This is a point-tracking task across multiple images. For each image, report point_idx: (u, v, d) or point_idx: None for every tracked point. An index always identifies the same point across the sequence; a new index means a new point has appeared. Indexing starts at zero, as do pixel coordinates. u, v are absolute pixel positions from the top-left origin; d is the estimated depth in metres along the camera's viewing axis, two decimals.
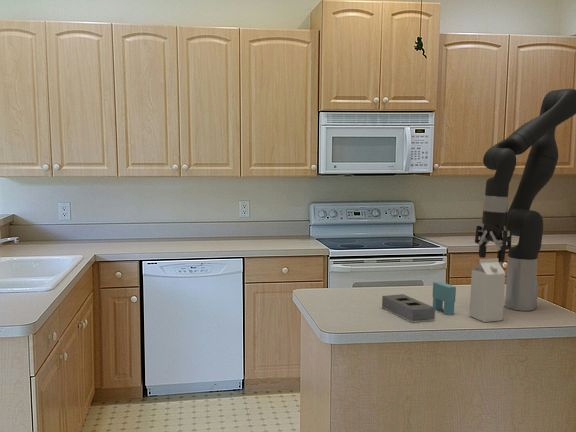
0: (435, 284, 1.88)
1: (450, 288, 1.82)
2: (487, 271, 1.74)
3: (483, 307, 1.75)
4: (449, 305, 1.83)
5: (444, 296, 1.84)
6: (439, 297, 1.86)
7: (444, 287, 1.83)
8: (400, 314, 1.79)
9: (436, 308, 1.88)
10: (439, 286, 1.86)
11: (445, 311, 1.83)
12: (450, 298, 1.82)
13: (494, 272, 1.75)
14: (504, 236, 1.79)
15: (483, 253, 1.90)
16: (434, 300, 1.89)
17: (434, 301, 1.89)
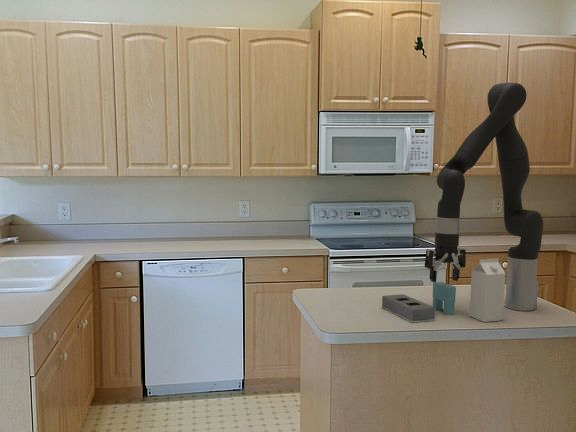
0: (435, 284, 1.88)
1: (450, 288, 1.82)
2: (487, 271, 1.74)
3: (483, 307, 1.75)
4: (449, 305, 1.83)
5: (444, 296, 1.84)
6: (439, 297, 1.86)
7: (444, 287, 1.83)
8: (400, 314, 1.79)
9: (436, 308, 1.88)
10: (439, 286, 1.86)
11: (445, 311, 1.83)
12: (450, 298, 1.82)
13: (494, 272, 1.75)
14: (464, 255, 1.86)
15: None
16: (434, 300, 1.89)
17: (434, 301, 1.89)
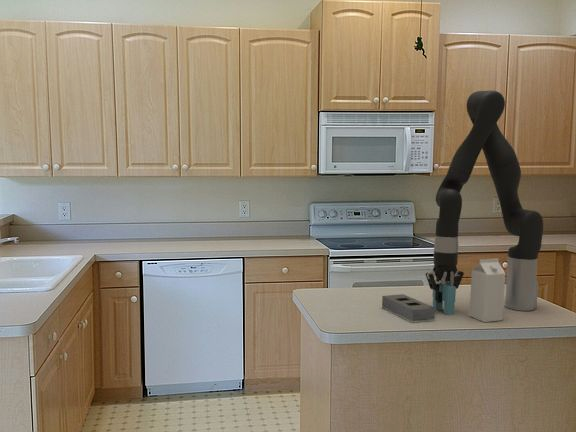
0: None
1: (450, 288, 1.82)
2: (487, 271, 1.74)
3: (483, 307, 1.75)
4: (449, 305, 1.83)
5: (444, 296, 1.84)
6: None
7: (444, 287, 1.83)
8: (400, 314, 1.79)
9: (436, 308, 1.88)
10: None
11: (445, 311, 1.83)
12: (450, 298, 1.82)
13: (494, 272, 1.75)
14: (461, 277, 1.86)
15: None
16: (434, 300, 1.89)
17: (434, 301, 1.89)
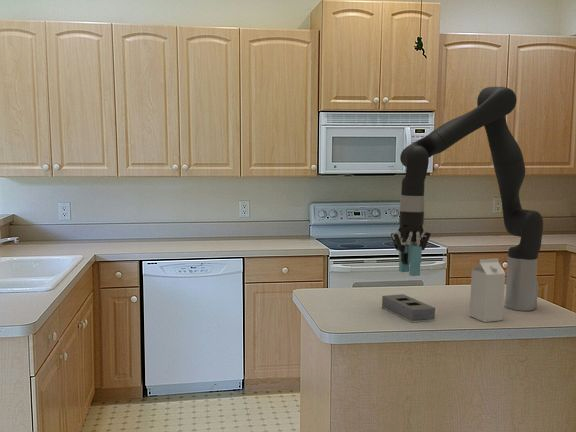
0: None
1: (415, 248, 1.77)
2: (487, 271, 1.74)
3: (483, 307, 1.75)
4: (415, 266, 1.78)
5: (409, 257, 1.78)
6: None
7: (410, 247, 1.78)
8: (400, 314, 1.79)
9: (402, 270, 1.83)
10: None
11: (411, 272, 1.78)
12: (415, 259, 1.77)
13: (494, 272, 1.75)
14: (427, 238, 1.81)
15: None
16: (400, 262, 1.83)
17: (400, 263, 1.83)
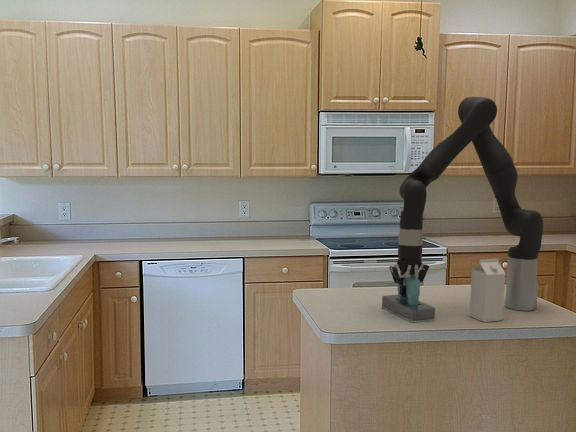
0: None
1: (413, 282, 1.78)
2: (487, 271, 1.74)
3: (483, 307, 1.75)
4: (413, 299, 1.79)
5: (408, 290, 1.79)
6: None
7: (408, 281, 1.79)
8: (400, 314, 1.79)
9: None
10: None
11: (409, 305, 1.79)
12: (414, 292, 1.78)
13: (494, 272, 1.75)
14: (426, 271, 1.82)
15: None
16: (399, 294, 1.85)
17: (399, 295, 1.85)
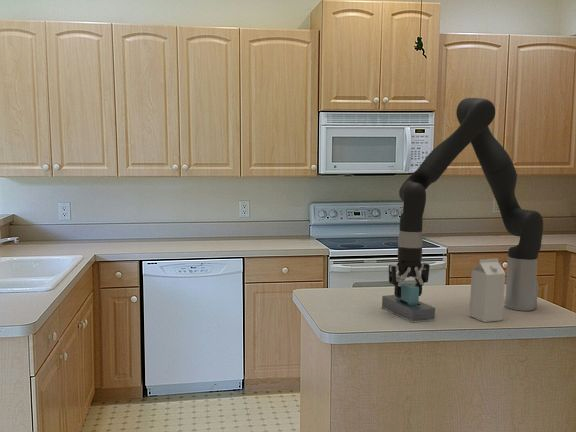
0: None
1: (412, 289, 1.78)
2: (487, 271, 1.74)
3: (483, 307, 1.75)
4: None
5: (407, 297, 1.80)
6: (403, 298, 1.82)
7: (407, 288, 1.80)
8: (400, 314, 1.79)
9: None
10: (402, 287, 1.82)
11: None
12: (413, 299, 1.78)
13: (494, 272, 1.75)
14: (428, 269, 1.83)
15: None
16: None
17: None
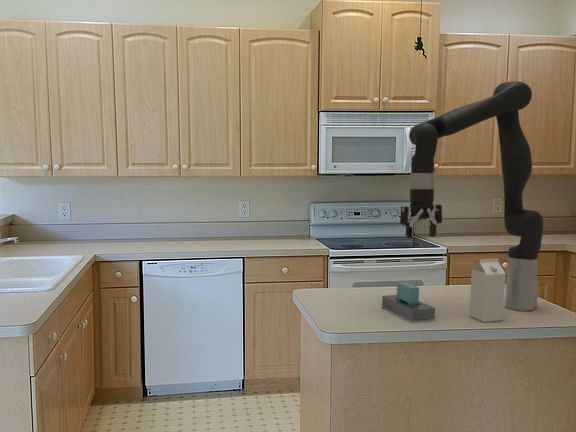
0: (399, 284, 1.84)
1: (412, 289, 1.78)
2: (487, 271, 1.74)
3: (483, 307, 1.75)
4: None
5: (407, 297, 1.80)
6: (403, 298, 1.82)
7: (407, 288, 1.80)
8: (400, 314, 1.79)
9: None
10: (403, 287, 1.82)
11: None
12: (413, 299, 1.78)
13: (494, 272, 1.75)
14: (440, 210, 1.84)
15: None
16: None
17: None
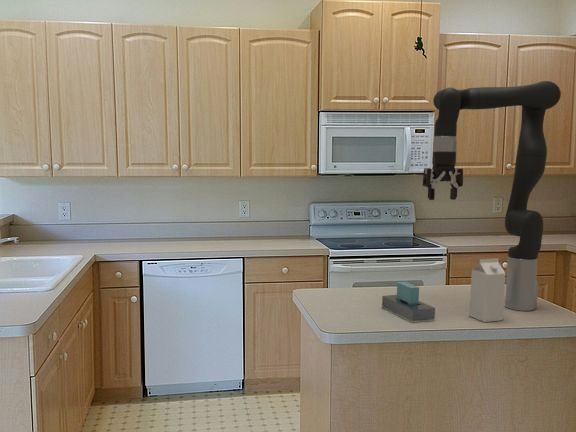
0: (399, 284, 1.84)
1: (412, 289, 1.78)
2: (487, 271, 1.74)
3: (483, 307, 1.75)
4: None
5: (407, 297, 1.80)
6: (403, 298, 1.82)
7: (407, 288, 1.80)
8: (400, 314, 1.79)
9: None
10: (403, 287, 1.82)
11: None
12: (413, 299, 1.78)
13: (494, 272, 1.75)
14: (462, 174, 1.89)
15: None
16: None
17: None
